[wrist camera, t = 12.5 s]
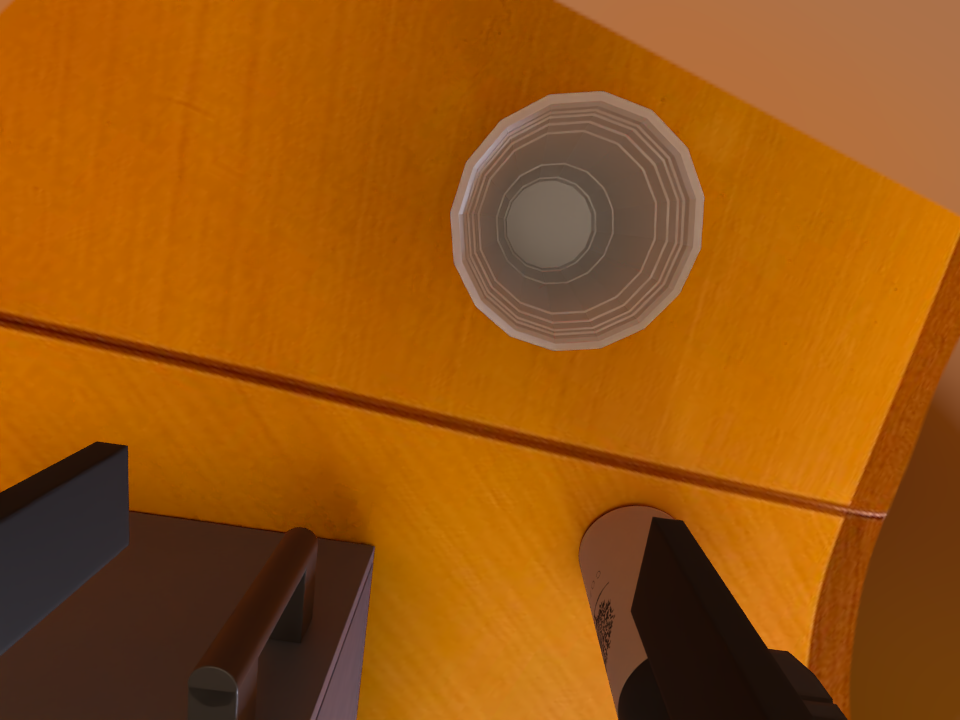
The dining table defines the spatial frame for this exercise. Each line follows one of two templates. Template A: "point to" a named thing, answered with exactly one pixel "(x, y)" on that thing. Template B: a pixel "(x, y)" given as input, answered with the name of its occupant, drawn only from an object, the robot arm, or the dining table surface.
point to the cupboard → (348, 666)
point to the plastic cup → (577, 221)
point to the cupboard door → (192, 628)
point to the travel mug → (621, 607)
